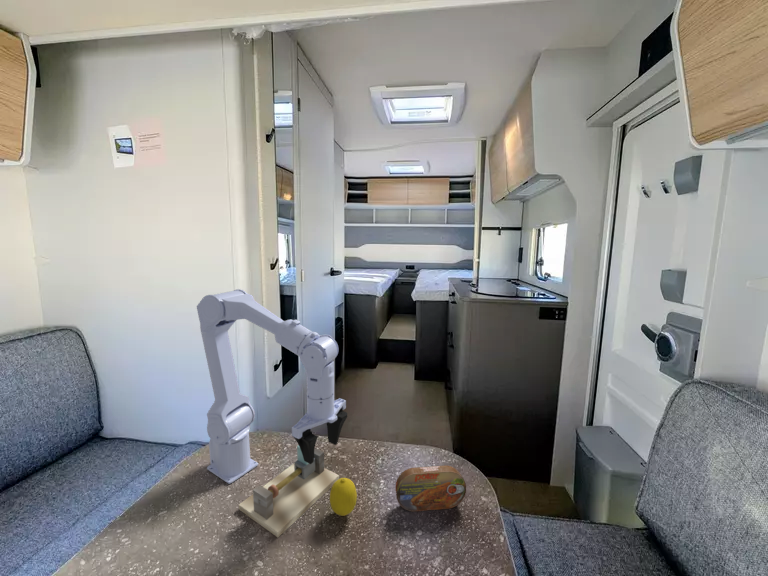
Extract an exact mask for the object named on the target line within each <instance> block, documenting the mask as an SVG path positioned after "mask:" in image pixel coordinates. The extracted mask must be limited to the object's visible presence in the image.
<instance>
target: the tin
mask: <svg viewBox="0 0 768 576" xmlns="http://www.w3.org/2000/svg"><path fill="white" fill-rule="evenodd" d="M466 494H467V484H466V481H465V479H464V477H463V476H462V474H461V472H459V470H458V469H457V468H456V467H454V466H451V465H434V466H433V465H431V466H420V467H419V466H418V467H410V468H407V469H405V470H403V471H402V472H401V473H400V474H399V476H398V477H397V479H396V481H395V496H396V497H395V498H396V500H397V503H398V504H399V506H400V507H402V509H404V510H406V511H408V512H412V513H413V512H414V513H415V512H424V511H436V510H437V511H438V510H448V509H453V508H455V507H456V506H458V505H459V504H461V503H462V501H464V499H465V496H466Z"/></svg>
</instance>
